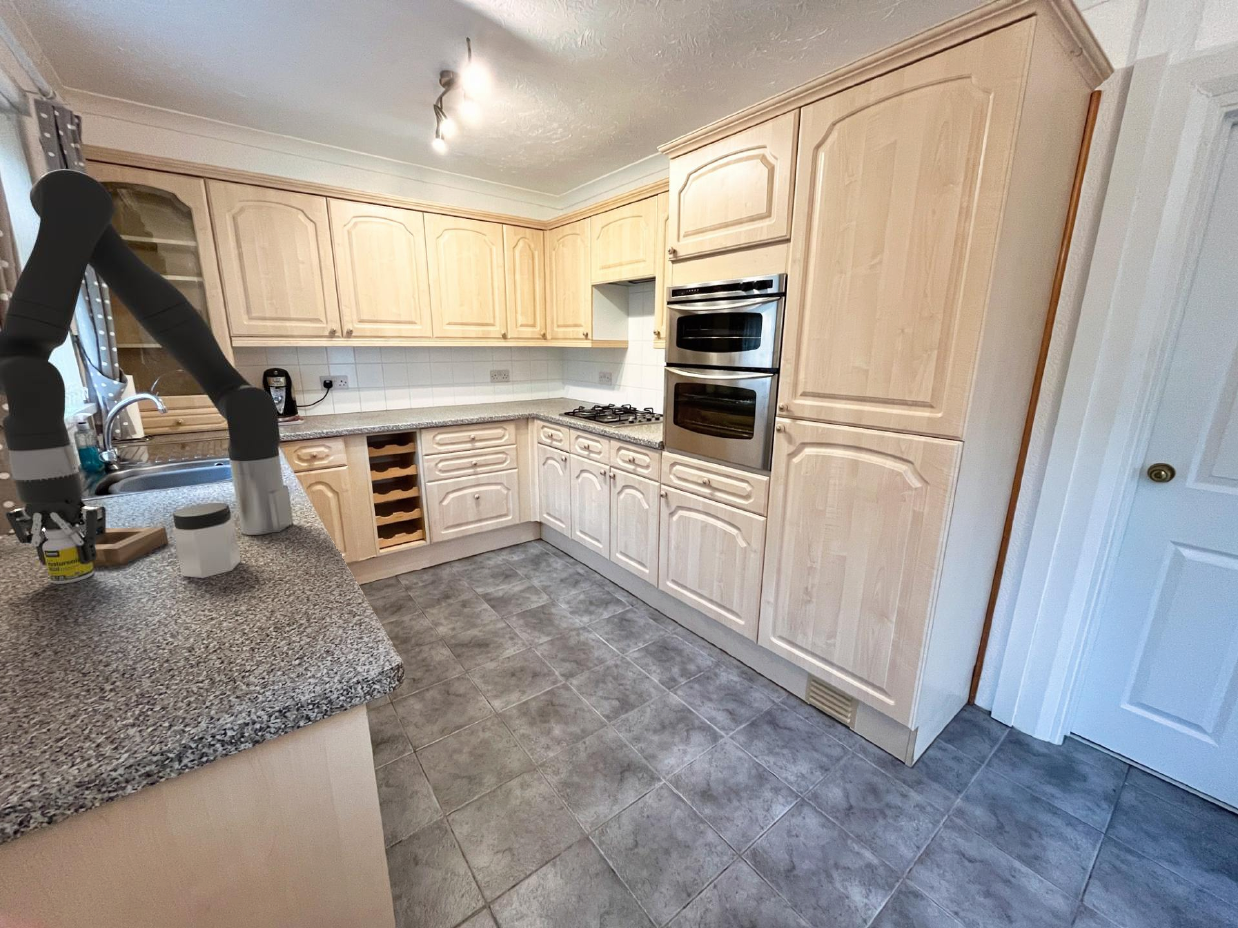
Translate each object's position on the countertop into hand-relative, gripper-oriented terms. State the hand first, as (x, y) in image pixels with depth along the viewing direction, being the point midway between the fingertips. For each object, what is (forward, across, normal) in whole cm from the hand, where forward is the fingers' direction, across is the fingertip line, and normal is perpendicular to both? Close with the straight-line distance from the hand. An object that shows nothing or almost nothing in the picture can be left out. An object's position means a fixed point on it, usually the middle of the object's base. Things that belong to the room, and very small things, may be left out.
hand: (69, 562), depth 90 cm
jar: (+3, -22, -2) cm, 22 cm away
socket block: (+3, +2, -11) cm, 12 cm away
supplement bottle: (+3, 0, 0) cm, 3 cm away
